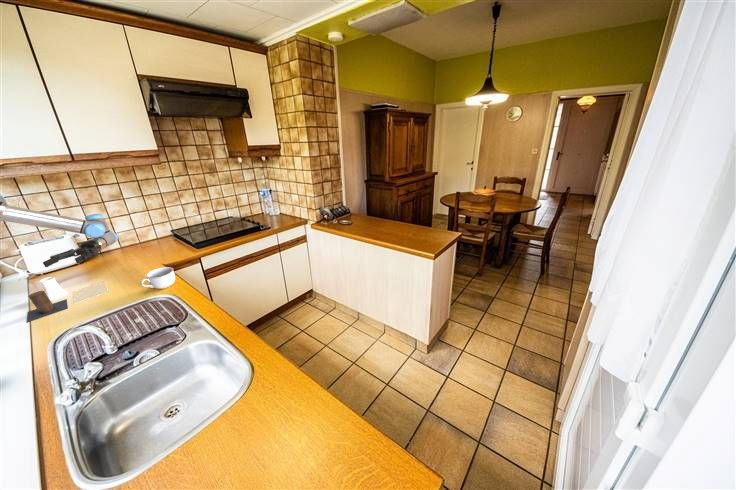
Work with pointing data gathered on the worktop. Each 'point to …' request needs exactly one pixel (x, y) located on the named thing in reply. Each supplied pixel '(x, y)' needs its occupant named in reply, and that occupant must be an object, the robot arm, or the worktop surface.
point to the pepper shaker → (41, 302)
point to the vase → (52, 288)
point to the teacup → (160, 278)
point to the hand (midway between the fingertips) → (60, 262)
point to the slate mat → (36, 315)
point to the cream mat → (89, 292)
